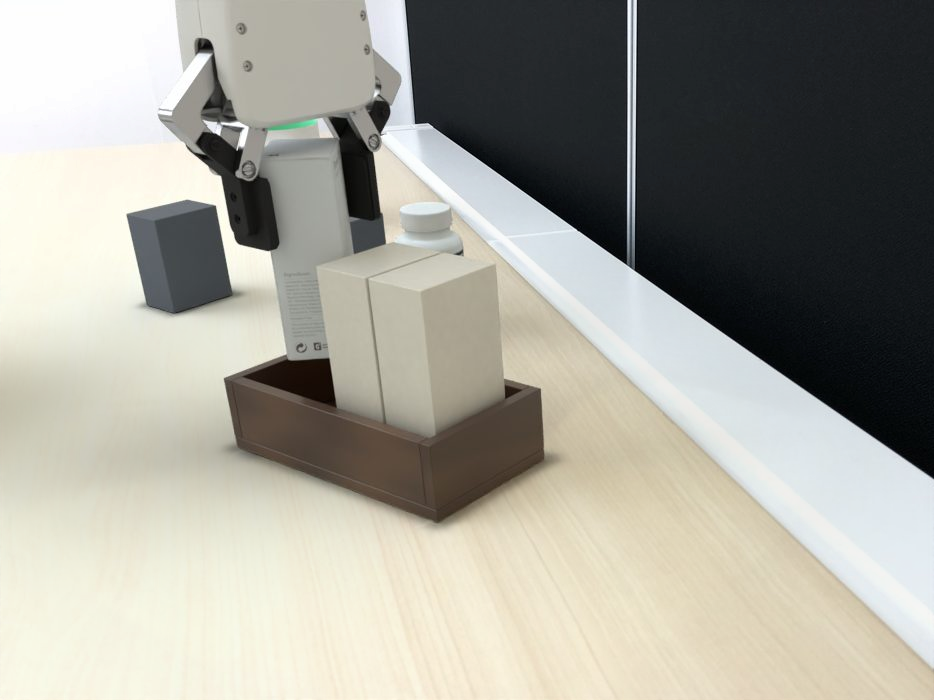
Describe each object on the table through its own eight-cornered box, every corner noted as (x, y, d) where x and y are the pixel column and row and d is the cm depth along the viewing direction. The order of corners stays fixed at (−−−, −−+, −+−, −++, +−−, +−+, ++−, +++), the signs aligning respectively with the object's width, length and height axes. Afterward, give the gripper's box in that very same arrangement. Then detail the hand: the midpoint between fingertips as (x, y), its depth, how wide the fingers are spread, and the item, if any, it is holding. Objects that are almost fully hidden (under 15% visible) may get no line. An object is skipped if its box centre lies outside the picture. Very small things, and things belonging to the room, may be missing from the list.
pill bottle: (390, 332, 89) (376, 212, 85) (425, 312, 94) (413, 197, 89) (448, 340, 87) (437, 218, 83) (481, 319, 92) (472, 202, 87)
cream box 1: (343, 456, 67) (315, 265, 62) (413, 422, 72) (392, 241, 66) (390, 473, 65) (365, 277, 60) (458, 437, 70) (441, 251, 64)
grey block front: (308, 315, 93) (294, 221, 89) (361, 296, 97) (349, 206, 94) (341, 324, 91) (327, 228, 87) (393, 304, 95) (383, 212, 92)
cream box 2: (392, 474, 65) (367, 278, 60) (461, 437, 70) (444, 252, 64) (441, 491, 63) (420, 290, 58) (509, 453, 68) (496, 262, 62)
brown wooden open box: (236, 447, 71) (222, 377, 68) (350, 397, 78) (340, 332, 75) (437, 523, 62) (429, 446, 59) (545, 459, 69) (541, 388, 66)
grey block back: (146, 305, 96) (125, 213, 92) (205, 287, 100) (187, 199, 96) (174, 313, 94) (154, 220, 90) (233, 294, 98) (216, 205, 94)
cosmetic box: (359, 358, 66) (332, 155, 61) (287, 363, 66) (251, 159, 60) (365, 324, 72) (340, 135, 66) (298, 328, 71) (266, 138, 66)
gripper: (338, -106, 65) (374, 194, 74) (61, -106, 53) (143, 257, 61) (430, -108, 62) (457, 209, 70) (156, -108, 49) (229, 279, 57)
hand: (310, 229), depth 65 cm, fingers closed on cosmetic box, 7 cm apart
